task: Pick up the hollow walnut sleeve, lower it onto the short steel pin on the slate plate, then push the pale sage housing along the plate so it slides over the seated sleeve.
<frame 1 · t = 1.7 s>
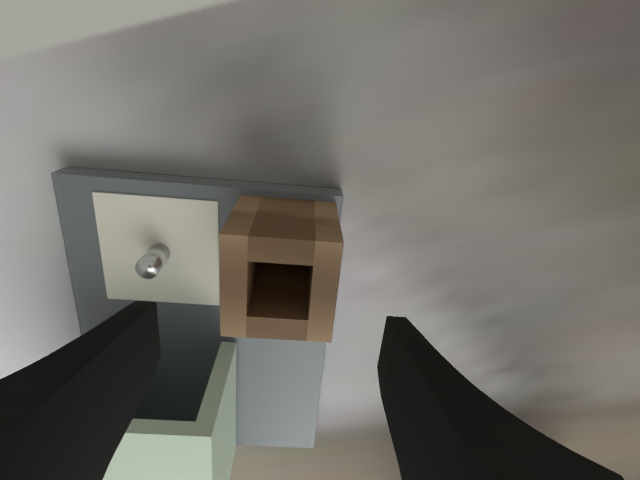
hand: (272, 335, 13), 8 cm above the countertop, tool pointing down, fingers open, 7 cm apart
plate: (210, 321, 22), on the countertop
sleeve: (285, 241, 19), point 1 cm above the countertop, touching plate
pin post: (153, 260, 18), on the plate, point 2 cm above the countertop
housing: (151, 440, 20), point 4 cm above the countertop, slide at 0.0 cm
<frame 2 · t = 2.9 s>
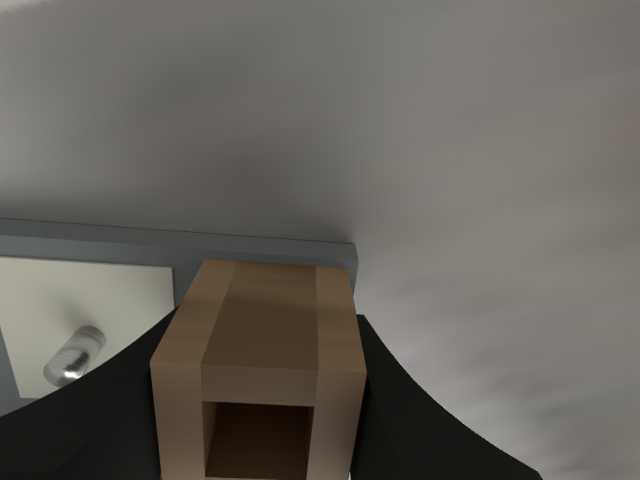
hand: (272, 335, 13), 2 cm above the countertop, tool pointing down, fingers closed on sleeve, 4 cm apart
plate: (172, 414, 16), on the countertop
sleeve: (274, 322, 13), point 1 cm above the countertop, touching gripper, plate
pin post: (77, 354, 12), on the plate, point 2 cm above the countertop
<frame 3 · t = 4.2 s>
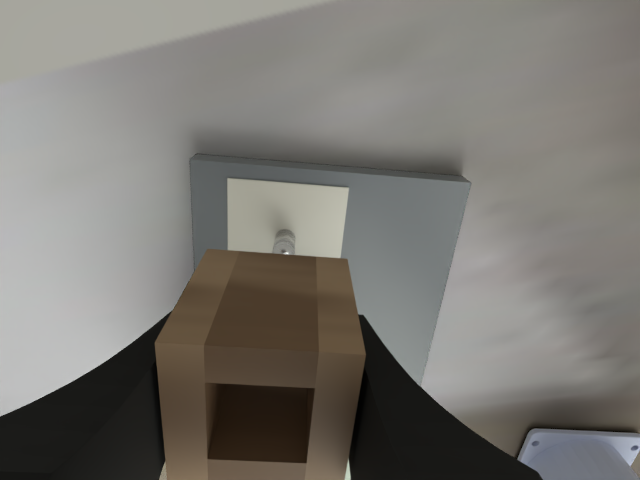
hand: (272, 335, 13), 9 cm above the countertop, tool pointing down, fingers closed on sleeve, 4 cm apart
plate: (317, 308, 23), on the countertop
sleeve: (274, 312, 13), point 8 cm above the countertop, touching gripper
pin post: (284, 245, 19), on the plate, point 2 cm above the countertop
housing: (272, 423, 20), point 4 cm above the countertop, slide at 0.0 cm
when the fingers open (3 cm above the countertop, at t = 5.8 s): sleeve stays where it is, resting on plate.
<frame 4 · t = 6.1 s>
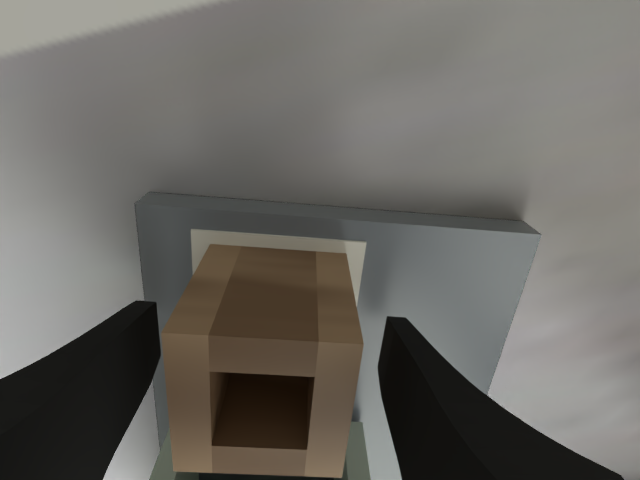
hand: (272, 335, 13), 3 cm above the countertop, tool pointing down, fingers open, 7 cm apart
plate: (319, 389, 17), on the countertop
sleeve: (275, 306, 14), point 1 cm above the countertop, touching plate
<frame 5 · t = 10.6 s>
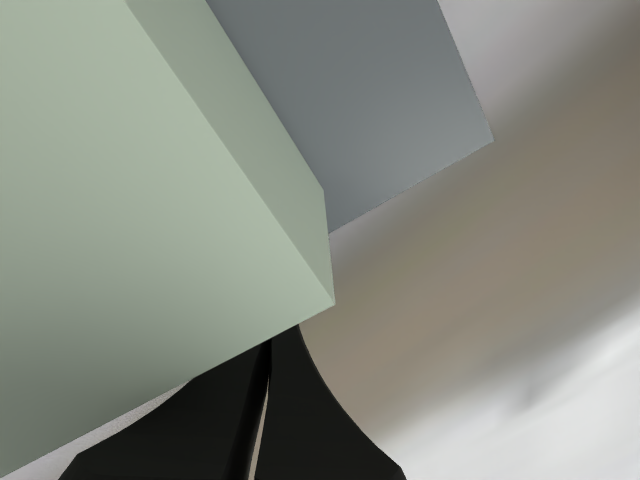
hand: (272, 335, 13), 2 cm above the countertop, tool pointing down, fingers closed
housing: (67, 161, 8), point 4 cm above the countertop, slide at 1.3 cm, touching gripper
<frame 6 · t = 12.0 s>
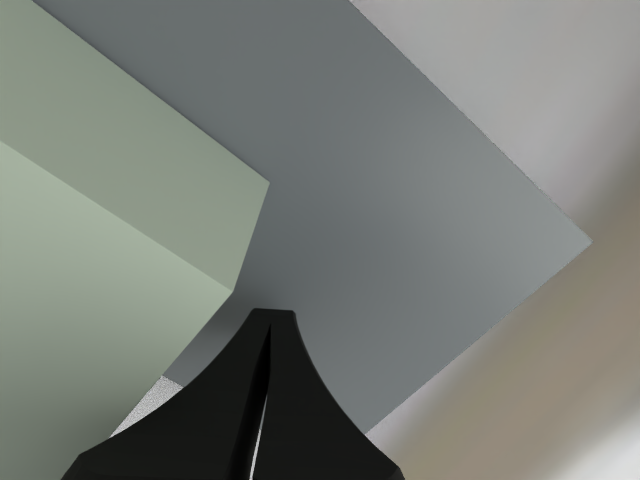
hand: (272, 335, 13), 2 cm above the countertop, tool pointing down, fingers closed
plate: (261, 223, 13), on the countertop
housing: (5, 235, 9), point 4 cm above the countertop, slide at 9.0 cm, touching gripper
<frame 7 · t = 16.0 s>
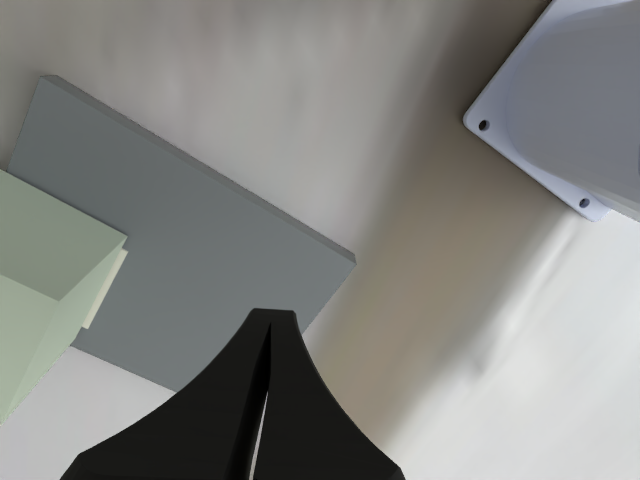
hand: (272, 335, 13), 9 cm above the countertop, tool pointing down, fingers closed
plate: (165, 270, 22), on the countertop
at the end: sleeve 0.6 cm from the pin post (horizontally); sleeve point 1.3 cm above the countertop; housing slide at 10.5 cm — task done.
